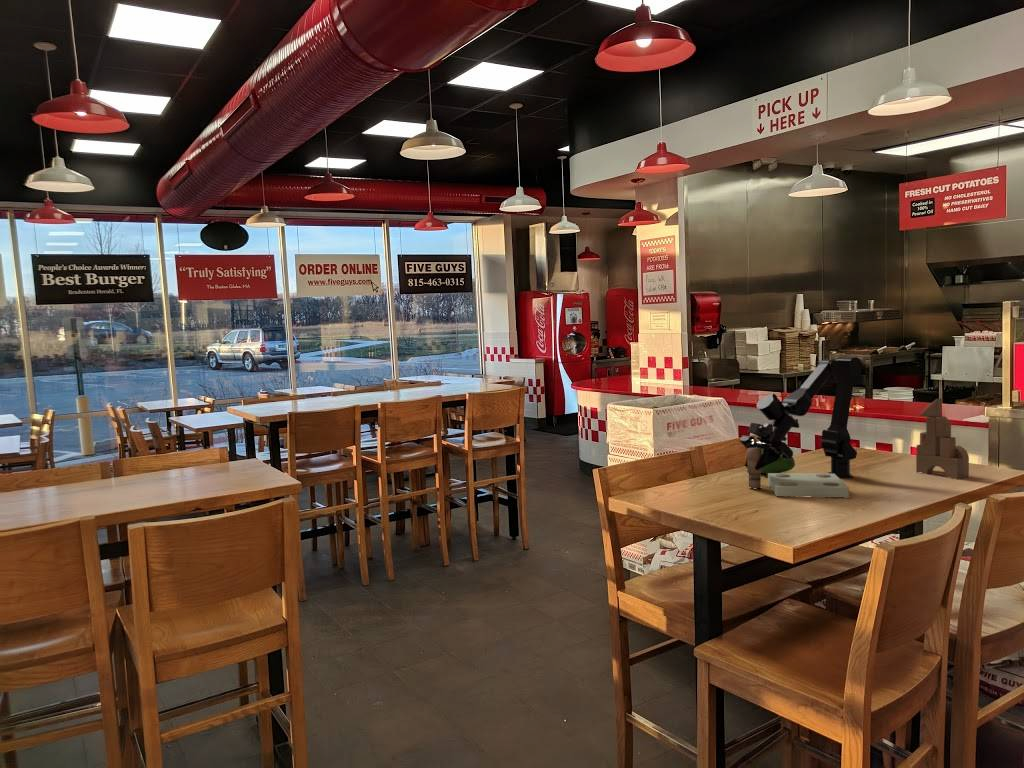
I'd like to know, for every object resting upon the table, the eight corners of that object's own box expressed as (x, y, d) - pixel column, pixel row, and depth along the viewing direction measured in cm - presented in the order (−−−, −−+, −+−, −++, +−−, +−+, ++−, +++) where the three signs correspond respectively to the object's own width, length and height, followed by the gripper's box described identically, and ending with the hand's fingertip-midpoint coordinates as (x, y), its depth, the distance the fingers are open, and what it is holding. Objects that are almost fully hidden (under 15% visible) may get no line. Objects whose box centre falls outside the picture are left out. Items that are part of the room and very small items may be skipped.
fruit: (801, 475, 243) (801, 445, 242) (783, 479, 237) (783, 449, 236) (762, 469, 255) (762, 441, 254) (745, 473, 249) (744, 444, 249)
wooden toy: (970, 476, 231) (970, 398, 229) (957, 479, 228) (958, 400, 226) (923, 469, 245) (923, 395, 243) (911, 471, 242) (911, 397, 240)
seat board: (768, 482, 234) (767, 472, 234) (834, 482, 230) (834, 473, 229) (776, 496, 215) (775, 486, 215) (848, 497, 210) (848, 487, 210)
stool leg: (747, 486, 229) (746, 447, 228) (761, 486, 228) (760, 447, 227) (748, 489, 225) (747, 449, 224) (762, 489, 224) (761, 449, 223)
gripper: (743, 410, 235) (716, 447, 232) (785, 416, 218) (756, 456, 214) (763, 432, 238) (736, 469, 235) (805, 439, 221) (777, 479, 218)
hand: (750, 467), depth 226 cm, fingers closed on stool leg, 4 cm apart
